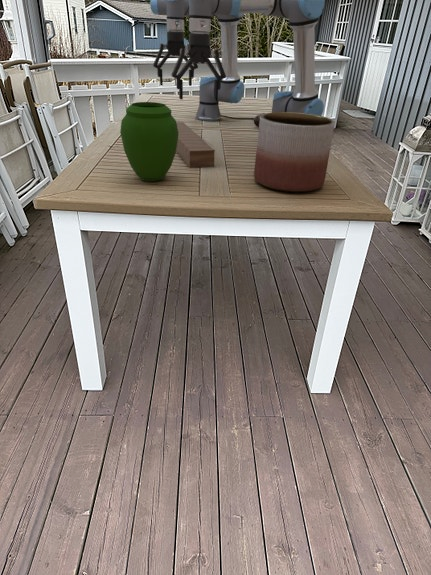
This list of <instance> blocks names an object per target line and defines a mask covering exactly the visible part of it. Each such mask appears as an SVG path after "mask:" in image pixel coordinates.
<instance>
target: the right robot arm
mask: <svg viewBox="0 0 431 575" xmlns="http://www.w3.org/2000/svg"><path fill="white" fill-rule="evenodd" d="M325 2H326V0H189V16H188V17H189V18H188V31H189V32H190V33H189V34H188V45H189V49H188V50H186V48H185V49H183V48H181V49H180V56H178V58H177V60H176V63H175V65H174V68H173V69H172V72H171V74H170V75H171V77H172V78H174V79H175V80H176V81H175V82H176V85H175V86H176V89H177V90H178V99H179V100H184V87H183V86H184V81H183V79H181V78H183V76H184V75H185V73H187V71H189V69H190V66H191V64H192V65H193V62H194V63H197V64H203V65H204V64H206V66H207V67H208V68H209V70H210V72H211V73H212V75H213V77H216V79H217V80H214V99H216V100H218V90H220V88H221V80H222V79H225V78H226V75H225V72H224V69H223V67H222V60H221V59H220V54H219V53H220V52H219V49H211V34H210V33H211V28H212V27H211V24H212V23H211V22H212V21H211V19H212V16H211V15H235V14H237V13H243V14H261V15H262V16H265V17H266V16H268V17H269V16H271V17H277V18H282V19H288V26H289V28H290V29H291V30H292V34H293V60H294V64H293V65H294V66H293V67H294V90H283V91H276V92H274V94H273V98H272V106H271V113H272V112H295V113H306V114H313V115H319V116H323V113H324V110H325V105H324V104H325V103H324V101H323V100H322V99H320V98H319V90H318V89H317V88H316V68H315V67H316V66H315V65H316V63H315V62H316V58H315V54H316V52H315V51H316V50H315V49H316V48H315V45H316V44H315V43H316V42H315V27H316V25H317V24H318V22H319V18H320V16H321V15H322V14H323V10H324V8H325V4H326V3H325ZM187 54H188V55H187ZM184 56H186V57H187V56H189V58H188V61H187V63H186V62H185V64H184V65H183V67H182V68H181V65H182V63H183V61H184ZM210 56H212V57H213V59H214V61H215V65H216V67H217V69H218V71H219V72H218V71H217V69H216V68H215V66H214V64H213V63H212V61H211V60H210ZM180 68H181V69H180Z"/></svg>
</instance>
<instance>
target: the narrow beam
mask: <svg viewBox="0 0 431 575" xmlns="http://www.w3.org/2000/svg"><path fill="white" fill-rule="evenodd" d="M176 123H177V128H178V133H179V134H178V141H177V148H176V153H177V154H178V155H179V156H180V157H181V158H182V160H183V161H184V162H185V164H186V165H187V166H188V167H189V168H211V167H212V168H213V167H215V152H216V151H215V150H216V149H213V147H211V145H209V143H207V142H206V141H205V140H204V139H203V138H201V136H200V135H198V134H197V133H196V132H195V131H194V130H193V129H191V127H190V126H188V125H187V124H186V123H185V122H184V121H176Z"/></svg>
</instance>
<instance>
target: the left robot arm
mask: <svg viewBox="0 0 431 575" xmlns="http://www.w3.org/2000/svg"><path fill="white" fill-rule="evenodd" d="M149 7H150V11H151V13H152V14H153V15H155V16H166V30H167V31H166V44H164V43H159V49H158V52H157V54H156V56H155V59H154V62H153V64H152V67H154V68H155V69H157V72H156V73H157V77H158V78H159V86H163V85H164V84H163V82H164V81H163V80H164V78H163V69H162V67H163V66H164V65H165V63H166V61H167V60H168V59H169V58H170V57H171V56H172V57H175V56H176V57H179V56H180V49H181V48H183V49H186V50H188V49H189V44H185V33H184V31H185V17H189V0H150V1H149ZM243 16H244V13H237V14H235V15H211V17H217V23H218V24H219V25H220V45H221V47H220V48H221V64H222V67H223V69H224V72H225V75H226V78H225V79H222V80H221V88H220V90H218V100H216V99H214V80H217V79H216V77H215V76H206V77H201V78H200V80H199V86H198V87H199V94H198V95H199V100H198V101H199V103H198V104H199V105H198V107H197V111H196V113H195V119H196V120H199V121H202V122H203V121H204V122H218V121H221V120H222V118H226V119H232V120H253V119H254V118H255V117H233V116H228V115H223V114H221V110H220V107H219V105H220V103H227V104H238V103H240V102H241V100H242V98H243V96H244V92H245V84H244V82H243V81H241V76H240V75H239V73H238V24H239V22H240V21H241V18H242V17H243ZM165 50H167V52H166V53H165V55H164V56H163V57H162V55H163V52H164V51H165ZM161 57H162V59H161ZM188 59H189V58H188V57H187V55H186V56H184V59H183V61H185V64H186V63H187V61H188ZM160 60H161V61H160ZM198 68H199V64H198V63H194V62H193V63H192V64H191V66H190V67H189V69H188V86H189V87H192V84H193V78H195V70H197V69H198ZM219 102H220V103H219Z"/></svg>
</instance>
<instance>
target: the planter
mask: <svg viewBox="0 0 431 575" xmlns="http://www.w3.org/2000/svg"><path fill="white" fill-rule="evenodd" d="M261 114H262V113H261ZM335 124H336V122H335V120H334V119H331V118H330V117H326V116H323V115H322V116H319V115H313V114H306V113H295V112H272V111H271V112H266V113H265V114H262V115H261V116H260V122H259V127H258V131H257V132H258V134H257V142H256V149H255V150H256V151H255V158H254V170H253V178H254V180H255V181H256V182H257V183H258V184H259V185H262V186H263V187H265V188H268V189H271V190H274V191H279V192H285V193H307V192H312V191H316V190H318V189H320V188H321V187H323V186H324V184H325V180H326V175H327V171H328V164H329V158H330V153H331V152H330V151H331V147H332V141H333V135H334V130H335Z"/></svg>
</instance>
